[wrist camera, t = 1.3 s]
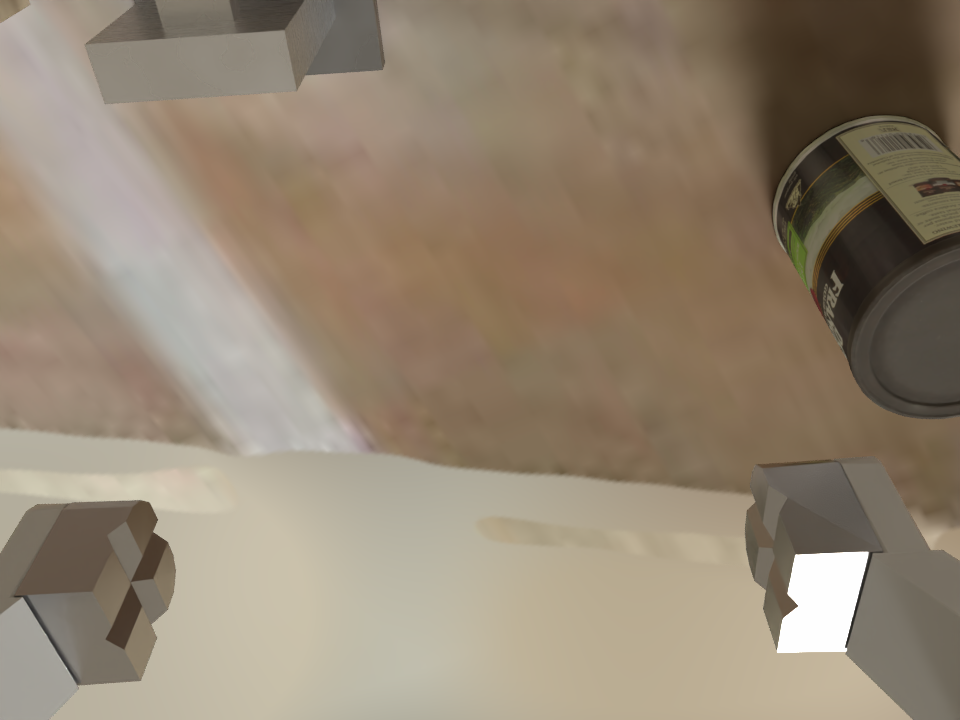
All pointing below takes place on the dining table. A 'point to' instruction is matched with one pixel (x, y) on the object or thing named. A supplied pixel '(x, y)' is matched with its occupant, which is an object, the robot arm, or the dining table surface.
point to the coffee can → (882, 256)
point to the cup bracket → (231, 47)
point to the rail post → (11, 8)
